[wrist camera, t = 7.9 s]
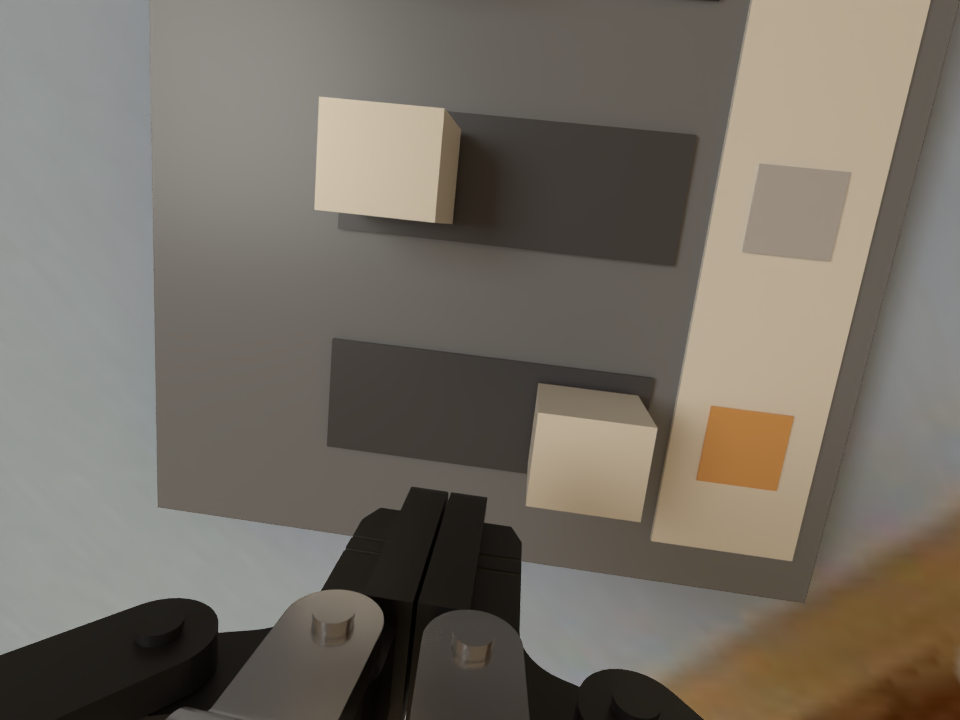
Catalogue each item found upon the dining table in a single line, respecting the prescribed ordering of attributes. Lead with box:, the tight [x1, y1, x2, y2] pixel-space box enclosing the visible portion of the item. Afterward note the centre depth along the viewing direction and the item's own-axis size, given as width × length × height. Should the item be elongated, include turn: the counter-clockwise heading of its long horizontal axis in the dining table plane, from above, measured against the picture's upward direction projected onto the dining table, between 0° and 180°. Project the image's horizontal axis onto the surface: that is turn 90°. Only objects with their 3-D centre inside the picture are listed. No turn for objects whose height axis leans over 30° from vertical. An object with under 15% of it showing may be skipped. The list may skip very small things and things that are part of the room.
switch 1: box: [314, 97, 461, 224], centre depth 16 cm, size 3×3×3 cm
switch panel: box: [149, 0, 960, 603], centre depth 18 cm, size 22×24×2 cm
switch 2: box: [526, 383, 658, 522], centre depth 17 cm, size 3×3×3 cm
